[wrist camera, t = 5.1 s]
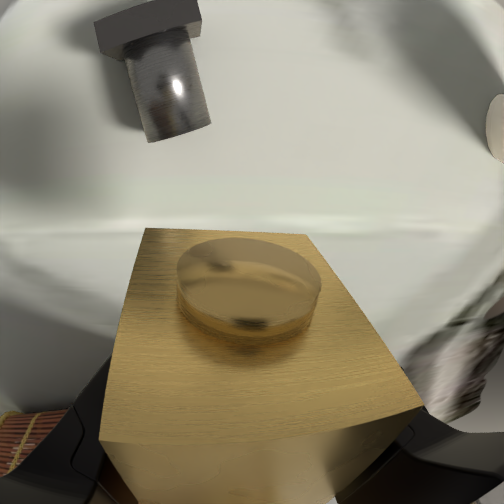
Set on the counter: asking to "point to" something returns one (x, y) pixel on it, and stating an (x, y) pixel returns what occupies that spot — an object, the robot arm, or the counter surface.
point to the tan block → (246, 374)
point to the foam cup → (496, 127)
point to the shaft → (159, 63)
